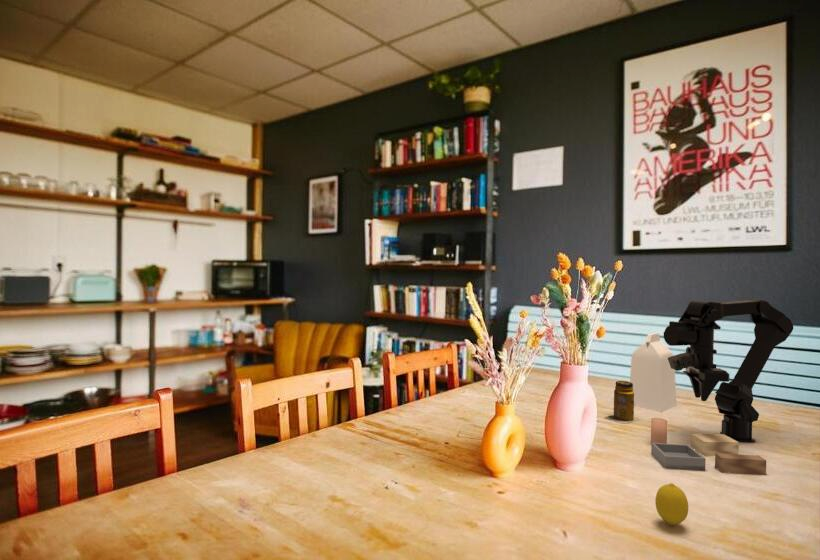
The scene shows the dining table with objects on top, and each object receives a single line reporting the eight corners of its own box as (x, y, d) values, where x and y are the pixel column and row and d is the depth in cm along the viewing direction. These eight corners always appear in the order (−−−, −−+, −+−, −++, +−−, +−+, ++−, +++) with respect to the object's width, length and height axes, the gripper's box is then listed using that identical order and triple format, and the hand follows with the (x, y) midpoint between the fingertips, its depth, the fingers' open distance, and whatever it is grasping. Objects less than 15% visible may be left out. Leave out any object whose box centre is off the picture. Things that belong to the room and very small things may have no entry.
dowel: (663, 442, 135) (663, 418, 134) (669, 448, 131) (669, 422, 130) (648, 441, 135) (648, 417, 135) (653, 447, 131) (654, 422, 131)
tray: (688, 456, 125) (688, 444, 125) (705, 470, 116) (705, 458, 116) (651, 454, 126) (651, 442, 126) (665, 468, 117) (665, 456, 117)
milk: (661, 412, 164) (662, 337, 163) (628, 404, 172) (629, 333, 172) (676, 406, 171) (677, 334, 170) (644, 399, 180) (645, 330, 179)
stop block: (758, 469, 117) (758, 455, 117) (766, 474, 114) (766, 460, 114) (714, 467, 118) (715, 453, 118) (721, 472, 115) (721, 457, 115)
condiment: (639, 419, 155) (640, 383, 155) (624, 424, 151) (624, 386, 150) (619, 414, 161) (619, 378, 161) (603, 418, 157) (604, 382, 156)
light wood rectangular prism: (723, 448, 131) (723, 434, 131) (738, 457, 125) (738, 442, 125) (690, 448, 131) (691, 433, 131) (703, 456, 125) (704, 441, 125)
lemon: (649, 518, 93) (649, 477, 93) (675, 517, 94) (676, 477, 94) (666, 533, 88) (667, 490, 88) (694, 532, 88) (695, 489, 88)
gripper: (658, 339, 146) (658, 390, 146) (686, 349, 127) (685, 407, 128) (697, 340, 144) (696, 391, 145) (731, 350, 126) (729, 409, 126)
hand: (700, 399), depth 136 cm, fingers open, 3 cm apart
